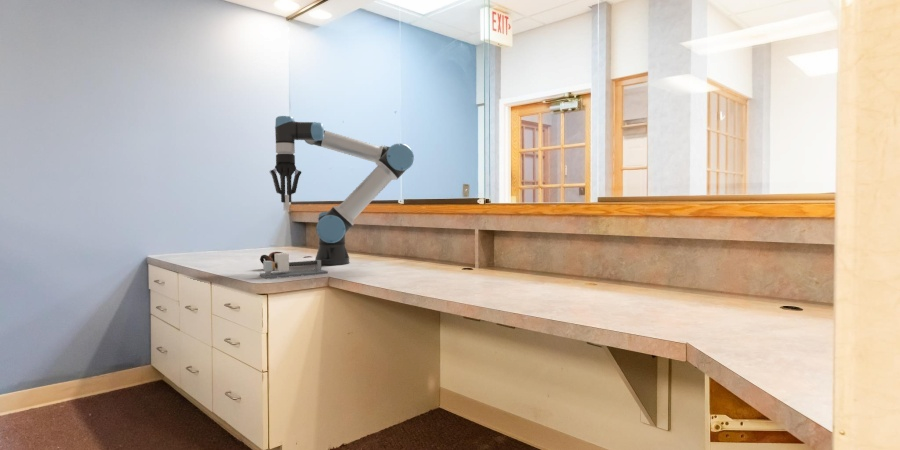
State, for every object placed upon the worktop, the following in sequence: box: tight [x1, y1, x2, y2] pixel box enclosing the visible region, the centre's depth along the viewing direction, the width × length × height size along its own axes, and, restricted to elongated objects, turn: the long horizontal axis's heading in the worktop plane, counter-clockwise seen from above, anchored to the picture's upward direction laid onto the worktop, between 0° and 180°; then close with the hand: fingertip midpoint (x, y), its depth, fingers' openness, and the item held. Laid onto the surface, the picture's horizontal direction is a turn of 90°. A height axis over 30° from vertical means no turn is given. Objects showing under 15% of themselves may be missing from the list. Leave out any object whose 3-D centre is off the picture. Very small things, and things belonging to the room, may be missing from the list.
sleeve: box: [274, 252, 290, 272], centre depth 193 cm, size 4×5×6 cm
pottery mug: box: [259, 251, 283, 271], centre depth 213 cm, size 12×10×8 cm
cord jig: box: [259, 259, 329, 279], centre depth 196 cm, size 23×10×6 cm, turn 125°
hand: (286, 210), depth 214 cm, fingers closed
